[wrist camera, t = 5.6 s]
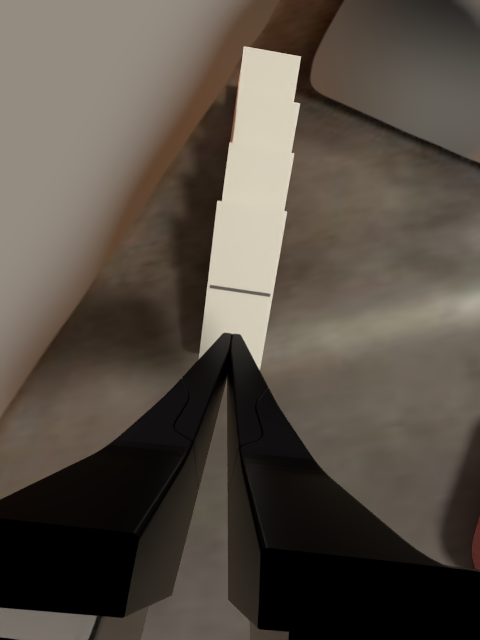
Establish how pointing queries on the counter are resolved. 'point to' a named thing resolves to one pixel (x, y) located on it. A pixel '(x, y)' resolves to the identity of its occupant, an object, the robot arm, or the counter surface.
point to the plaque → (476, 547)
